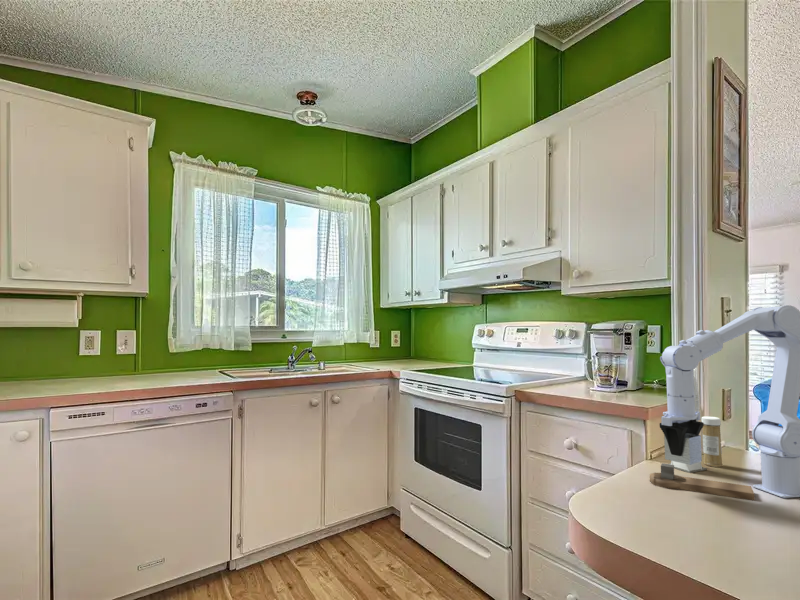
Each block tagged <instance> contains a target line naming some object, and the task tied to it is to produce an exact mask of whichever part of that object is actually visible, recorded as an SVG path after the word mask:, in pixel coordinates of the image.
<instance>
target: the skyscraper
mask: <svg viewBox="0 0 800 600" xmlns="http://www.w3.org/2000/svg"><path fill="white" fill-rule="evenodd" d="M693 370H694V396H695V411H696V412H700V404H701V403H700V394H699V387H698V380H697V369H696V368H695V369H693ZM696 421H698V422H699V420H696ZM669 464H670V465H674V470H675V469H676V470H679V471H682V472H685V473H688V474H691V473H696V472H701V471H702V472H703V471H707V467H703V466H702V461H701V462H698V463H694V464H691V465H688V464H684V463H680V462H675V461H671V460H670V463H669Z"/></svg>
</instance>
